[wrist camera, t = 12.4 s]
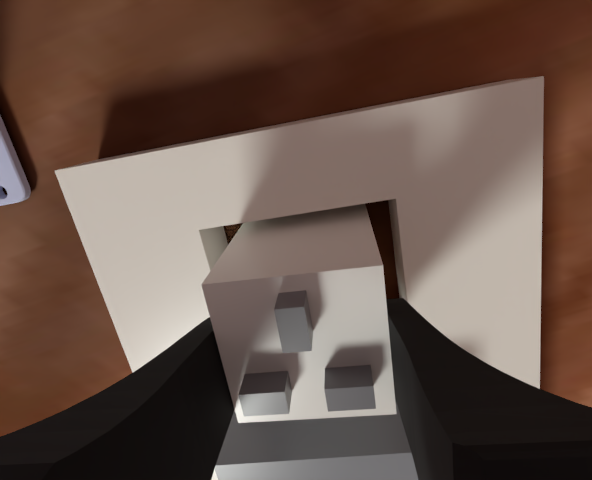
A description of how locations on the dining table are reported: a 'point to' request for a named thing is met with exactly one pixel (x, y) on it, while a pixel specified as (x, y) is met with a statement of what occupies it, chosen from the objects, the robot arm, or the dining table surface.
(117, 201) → the socket plate
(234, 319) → the plug
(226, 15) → the dining table surface
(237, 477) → the grey slab with nub
